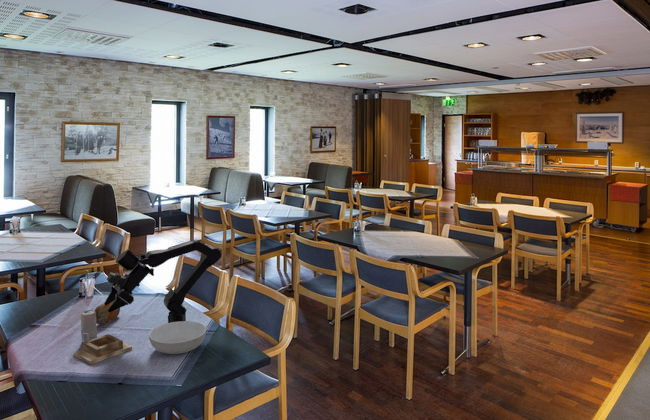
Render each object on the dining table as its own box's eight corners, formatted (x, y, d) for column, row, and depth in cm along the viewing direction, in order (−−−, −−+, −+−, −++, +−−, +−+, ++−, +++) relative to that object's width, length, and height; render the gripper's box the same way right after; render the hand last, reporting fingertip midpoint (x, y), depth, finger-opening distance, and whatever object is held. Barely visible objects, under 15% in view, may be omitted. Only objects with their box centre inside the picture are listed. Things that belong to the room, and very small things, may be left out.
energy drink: (92, 337, 194) (90, 309, 193) (99, 341, 191) (98, 311, 190) (79, 342, 190) (77, 312, 188) (86, 345, 187) (85, 315, 185)
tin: (99, 327, 205) (98, 308, 204) (92, 327, 205) (91, 307, 204) (121, 315, 219) (120, 297, 218) (114, 314, 220) (114, 296, 219)
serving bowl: (147, 341, 192) (147, 325, 191) (201, 334, 200) (201, 318, 199) (151, 364, 173) (150, 346, 172) (210, 355, 181) (210, 337, 180)
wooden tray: (114, 341, 192) (114, 331, 191) (132, 349, 185) (131, 338, 184) (73, 355, 179) (73, 344, 178) (90, 364, 172) (90, 353, 171)
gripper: (115, 260, 200) (87, 289, 196) (123, 270, 185) (93, 303, 181) (136, 276, 206) (109, 305, 202) (146, 288, 190) (116, 320, 186)
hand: (106, 308), depth 192 cm, fingers open, 9 cm apart
